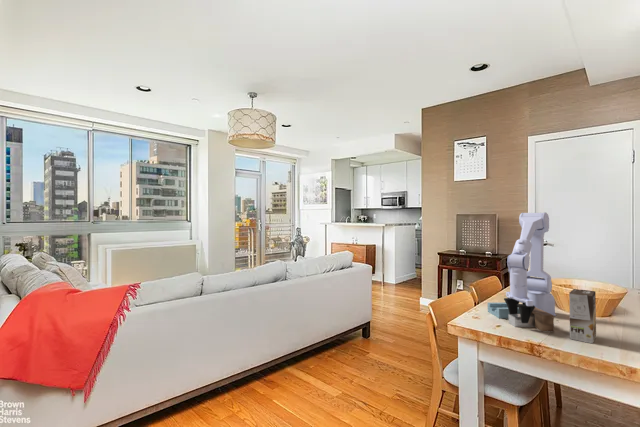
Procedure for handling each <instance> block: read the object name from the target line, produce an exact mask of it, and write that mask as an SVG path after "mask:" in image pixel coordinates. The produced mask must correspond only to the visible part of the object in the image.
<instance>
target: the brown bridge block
mask: <svg viewBox="0 0 640 427" xmlns="http://www.w3.org/2000/svg"><path fill="white" fill-rule="evenodd" d="M531 314H535V327H534V328H535V329H537V330H539V331H541V332H543V331H550V332H551V331H554V332H555V327H554V326H555V322H554V318H555V317H554V315H552V314H550V313H547V312H545V311H543V310H541V309H538V308H536V307H535V308H534V310H533V311H532V313H531Z"/></svg>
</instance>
